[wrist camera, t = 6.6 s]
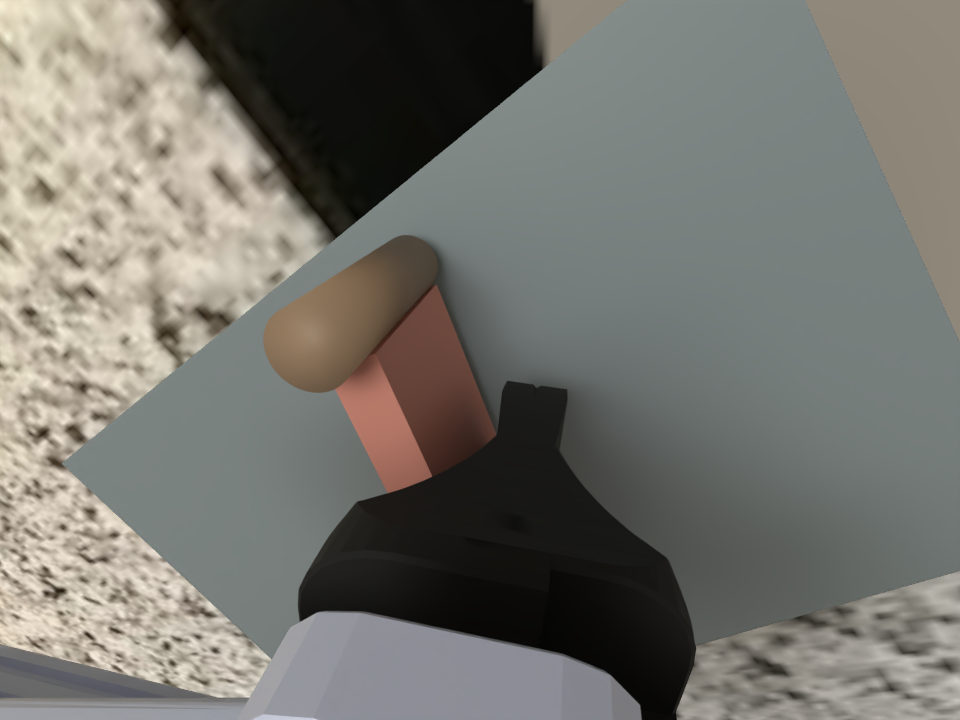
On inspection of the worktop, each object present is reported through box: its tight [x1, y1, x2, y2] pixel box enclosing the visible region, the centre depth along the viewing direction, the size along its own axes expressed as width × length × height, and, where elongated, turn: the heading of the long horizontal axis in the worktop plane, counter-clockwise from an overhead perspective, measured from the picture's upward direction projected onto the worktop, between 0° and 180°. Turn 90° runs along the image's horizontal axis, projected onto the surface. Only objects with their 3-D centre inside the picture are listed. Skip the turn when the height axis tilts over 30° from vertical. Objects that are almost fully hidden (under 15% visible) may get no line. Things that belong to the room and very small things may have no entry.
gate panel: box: [263, 235, 496, 493], centre depth 11 cm, size 10×1×5 cm, turn 20°
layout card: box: [62, 0, 960, 659], centre depth 15 cm, size 24×16×1 cm, turn 126°
